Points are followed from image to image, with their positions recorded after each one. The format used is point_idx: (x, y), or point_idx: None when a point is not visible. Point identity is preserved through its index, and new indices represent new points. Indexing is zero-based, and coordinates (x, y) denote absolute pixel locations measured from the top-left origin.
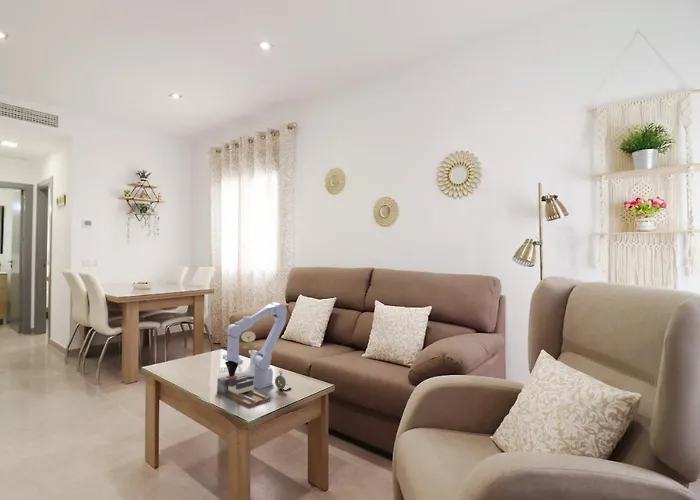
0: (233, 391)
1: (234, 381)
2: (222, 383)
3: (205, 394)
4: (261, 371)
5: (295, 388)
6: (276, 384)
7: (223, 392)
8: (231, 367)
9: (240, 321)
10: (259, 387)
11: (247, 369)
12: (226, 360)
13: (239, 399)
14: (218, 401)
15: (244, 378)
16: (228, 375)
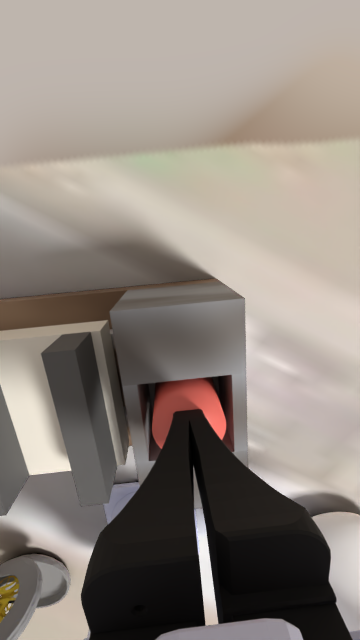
0: (32, 328)
1: (55, 386)
2: (147, 300)
3: (236, 195)
4: (89, 636)
5: (11, 604)
6: (27, 576)
7: (133, 289)
8: (134, 503)
9: None
10: (111, 496)
11: (348, 569)
12: (164, 638)
13: None
14: (50, 206)
15: (77, 482)
16: (218, 408)
